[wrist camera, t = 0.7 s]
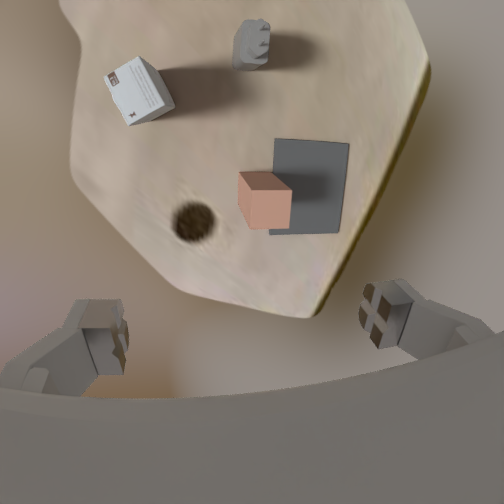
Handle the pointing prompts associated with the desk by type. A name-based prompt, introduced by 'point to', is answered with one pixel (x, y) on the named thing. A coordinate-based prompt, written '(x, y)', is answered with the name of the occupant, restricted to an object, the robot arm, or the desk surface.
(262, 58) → the power adapter
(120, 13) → the desk surface
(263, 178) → the block
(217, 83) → the desk surface
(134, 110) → the skincare box
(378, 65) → the desk surface
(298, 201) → the mat
